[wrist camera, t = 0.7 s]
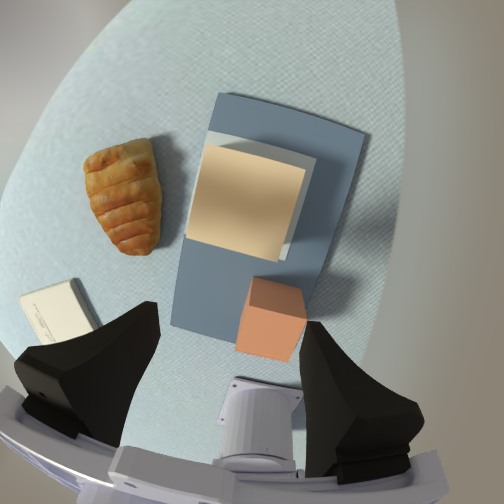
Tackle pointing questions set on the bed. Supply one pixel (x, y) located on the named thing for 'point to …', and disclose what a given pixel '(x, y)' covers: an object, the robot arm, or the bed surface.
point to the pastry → (126, 195)
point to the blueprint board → (302, 221)
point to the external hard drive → (58, 312)
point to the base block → (244, 202)
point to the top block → (271, 320)
